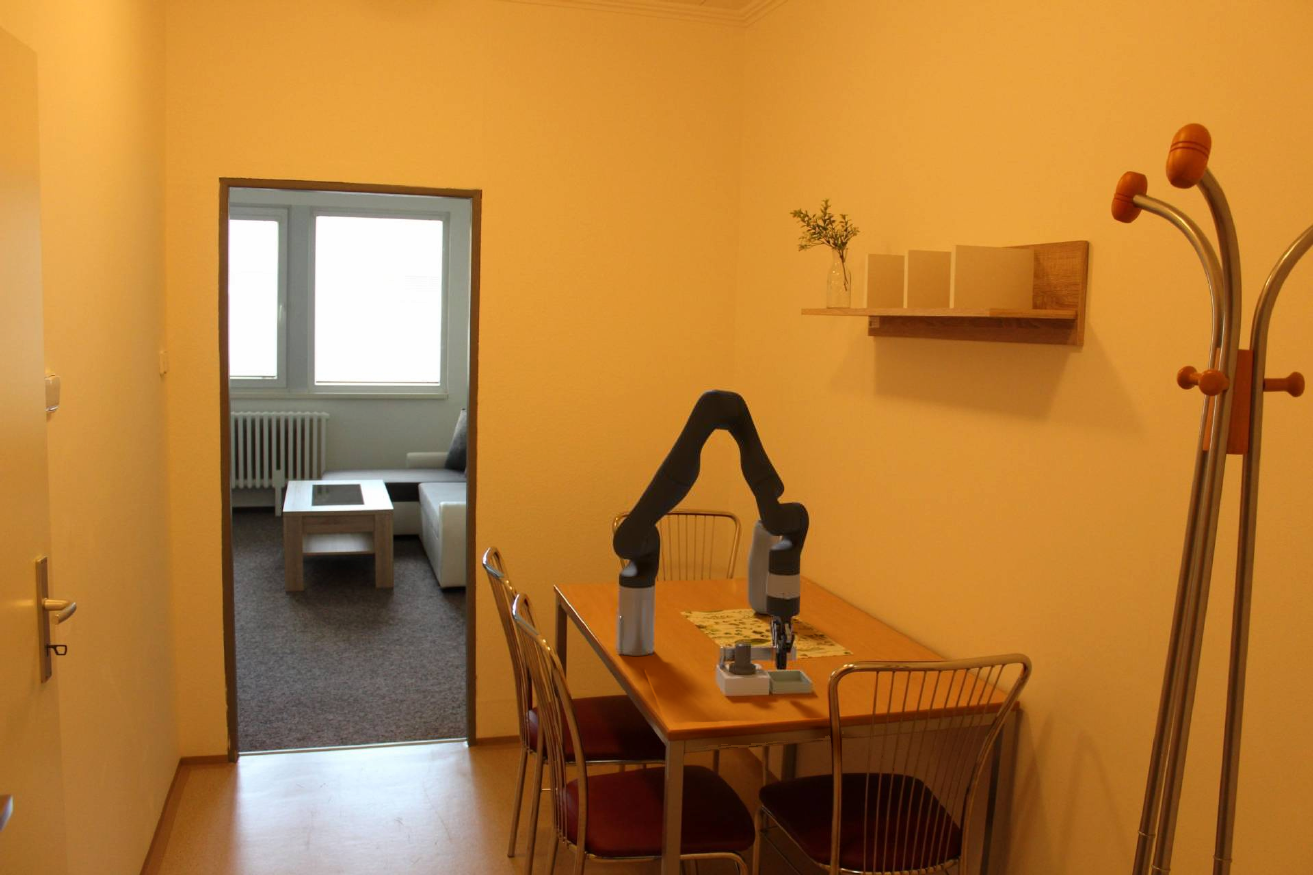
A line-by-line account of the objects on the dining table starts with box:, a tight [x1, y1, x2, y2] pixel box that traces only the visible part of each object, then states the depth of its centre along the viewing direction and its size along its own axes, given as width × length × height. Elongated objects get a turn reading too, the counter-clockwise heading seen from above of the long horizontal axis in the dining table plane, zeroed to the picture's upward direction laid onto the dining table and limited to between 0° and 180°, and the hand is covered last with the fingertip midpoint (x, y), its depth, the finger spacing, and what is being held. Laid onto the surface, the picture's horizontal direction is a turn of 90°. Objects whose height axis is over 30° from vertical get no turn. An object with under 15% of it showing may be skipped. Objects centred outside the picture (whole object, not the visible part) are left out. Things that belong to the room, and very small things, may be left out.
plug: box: [728, 642, 756, 675], centre depth 240 cm, size 6×6×10 cm
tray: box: [764, 669, 813, 695], centre depth 242 cm, size 9×9×2 cm
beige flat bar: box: [718, 644, 797, 668], centre depth 243 cm, size 18×2×5 cm, turn 98°
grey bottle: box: [746, 518, 781, 615], centre depth 310 cm, size 10×10×28 cm
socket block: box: [715, 663, 770, 697], centre depth 240 cm, size 10×10×4 cm
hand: (780, 668), depth 238 cm, fingers closed
